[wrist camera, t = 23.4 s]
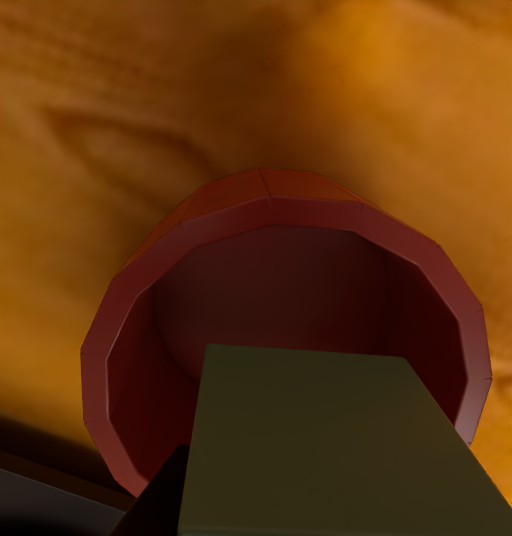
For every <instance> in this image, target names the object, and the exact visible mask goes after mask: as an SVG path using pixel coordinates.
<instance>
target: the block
mask: <svg viewBox="0 0 512 536" xmlns="http://www.w3.org/2000/svg"><path fill="white" fill-rule="evenodd" d="M177 536H512V508H511V506H510V505H509V504H508V502H507V501H506V499H505V498H504V497H503V495H502V494H501V492H500V491H499V490H498V488H497V487H496V485H495V484H494V483H493V481H492V480H491V478H490V477H489V475H488V474H487V473H486V471H485V470H484V468H483V467H482V466H481V464H480V463H479V461H478V460H477V459H476V457H475V456H474V454H473V453H472V452H471V450H470V449H469V447H468V446H467V445H466V443H465V442H464V440H463V439H462V437H461V436H460V435H459V433H458V432H457V430H456V429H455V428H454V426H453V425H452V423H451V422H450V421H449V419H448V418H447V416H446V415H445V414H444V412H443V411H442V409H441V408H440V407H439V405H438V404H437V402H436V401H435V399H434V398H433V397H432V395H431V394H430V392H429V391H428V390H427V388H426V387H425V385H424V384H423V383H422V381H421V380H420V378H419V377H418V376H417V374H416V373H415V371H414V370H413V369H412V367H411V366H410V364H409V363H408V362H407V360H406V359H405V358H403V357H394V356H380V355H366V354H352V353H338V352H324V351H310V350H296V349H282V348H268V347H254V346H240V345H226V344H212V343H210V344H207V346H206V348H205V354H204V360H203V367H202V373H201V380H200V386H199V393H198V399H197V405H196V412H195V418H194V425H193V431H192V438H191V444H190V451H189V457H188V463H187V470H186V476H185V483H184V489H183V496H182V502H181V508H180V515H179V521H178V528H177Z"/></svg>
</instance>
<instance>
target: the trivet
mask: <svg viewBox="0 0 512 536" xmlns="http://www.w3.org/2000/svg"><path fill="white" fill-rule="evenodd" d="M136 499H137V498H134V497H131V496H129V495H126V494H123V493H120V492H117V491H114V490H112V489H109V488H106V487H103V486H100V485H98V484H95V483H92V482H89V481H86V480H83V479H81V478H78V477H75V476H72V475H69V474H66V473H64V472H61V471H58V470H55V469H52V468H49V467H47V466H44V465H41V464H38V463H35V462H33V461H30V460H27V459H24V458H21V457H18V456H16V455H13V454H10V453H7V452H4V451H1V450H0V536H108V535H109V534H110V532H111V531H112V530H113V529H114V527H115V526H116V525H117V523H118V522H119V521H120V520H121V518H122V517H123V516H124V514H125V513H126V512H127V510H128V509H129V508H130V507H131V505H132V504H133V503H134V501H135V500H136Z"/></svg>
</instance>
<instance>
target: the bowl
mask: <svg viewBox="0 0 512 536" xmlns="http://www.w3.org/2000/svg"><path fill="white" fill-rule="evenodd" d="M210 343H212V344H226V345H240V346H254V347H268V348H282V349H296V350H310V351H324V352H338V353H352V354H366V355H380V356H394V357H403V358H405V359H406V360H407V362H408V363H409V364H410V366H411V367H412V369H413V370H414V371H415V373H416V374H417V376H418V377H419V378H420V380H421V381H422V383H423V384H424V385H425V387H426V388H427V390H428V391H429V392H430V394H431V395H432V397H433V398H434V399H435V401H436V402H437V404H438V405H439V407H440V408H441V409H442V411H443V412H444V414H445V415H446V416H447V418H448V419H449V421H450V422H451V423H452V425H453V426H454V428H455V429H456V430H457V432H458V433H459V435H460V436H461V437H462V439H463V440H464V442H465V443H466V445H467V446H468V447H469V446H470V445H471V442H472V441H473V438H474V435H475V432H476V429H477V426H478V423H479V420H480V416H481V413H482V410H483V407H484V404H485V401H486V398H487V395H488V392H489V388H490V385H491V382H492V369H491V362H490V355H489V348H488V340H487V333H486V326H485V318H484V311H483V308H482V304H481V303H480V301H479V300H478V299H477V297H476V296H475V294H474V293H473V292H472V290H471V289H470V287H469V286H468V284H467V283H466V282H465V280H464V279H463V277H462V276H461V274H460V273H459V272H458V270H457V269H456V267H455V266H454V264H453V263H452V262H451V260H450V259H449V257H448V256H447V255H446V253H445V252H444V250H443V249H442V247H441V246H440V245H438V244H437V243H436V242H435V241H434V240H432V239H430V238H429V237H427V236H425V235H424V234H422V233H420V232H419V231H417V230H415V229H414V228H412V227H410V226H409V225H407V224H405V223H403V222H402V221H400V220H398V219H397V218H395V217H393V216H392V215H390V214H388V213H387V212H385V211H383V210H382V209H380V208H378V207H377V206H375V205H373V204H372V203H370V202H368V201H367V200H365V199H363V198H361V197H359V196H358V195H356V194H354V193H352V192H350V191H349V190H347V189H345V188H343V187H341V186H340V185H338V184H336V183H334V182H332V181H331V180H329V179H327V178H325V177H323V176H321V175H320V174H316V173H311V172H301V171H295V170H289V169H268V168H259V169H258V168H255V169H252V170H249V171H245V172H241V173H237V174H233V175H229V176H227V177H224V178H222V179H219V180H217V181H214V182H211V183H208V184H205V185H203V186H201V187H199V188H198V189H197V190H196V191H195V192H194V193H192V194H191V195H190V196H189V197H188V198H187V199H185V200H184V201H183V202H181V203H180V204H179V205H178V206H177V207H176V208H175V209H174V210H173V211H172V212H171V213H169V214H168V215H167V216H166V217H165V218H164V219H163V220H161V221H160V222H159V223H158V225H157V226H156V227H155V228H154V229H153V231H152V232H151V233H150V234H149V235H148V237H147V238H146V239H145V240H144V241H143V243H142V244H141V245H140V246H139V248H138V249H137V250H136V251H135V252H134V254H133V255H132V256H131V257H130V258H129V260H128V261H127V262H126V263H125V264H124V266H123V267H122V268H121V269H120V270H119V272H118V273H117V274H116V275H115V276H114V278H113V279H112V280H111V282H110V284H109V286H108V289H107V291H106V293H105V295H104V298H103V300H102V302H101V304H100V307H99V309H98V311H97V313H96V316H95V318H94V320H93V322H92V324H91V327H90V329H89V331H88V333H87V336H86V338H85V340H84V342H83V345H82V347H81V353H80V357H81V379H82V400H83V420H84V425H85V426H86V428H87V430H88V432H89V434H90V436H91V437H92V439H93V441H94V443H95V445H96V446H97V448H98V450H99V452H100V454H101V456H102V457H103V459H104V461H105V463H106V465H107V467H108V468H109V470H110V472H111V474H112V476H113V478H114V479H115V480H116V481H117V482H118V483H119V484H120V485H121V486H122V487H124V488H125V489H126V490H127V491H129V492H130V493H131V494H132V495H134V496H135V497H136V498H138V496H139V495H140V494H141V492H142V491H143V490H144V489H145V487H146V486H147V485H148V483H149V482H150V481H151V479H152V478H153V477H154V476H155V474H156V473H157V472H158V470H159V469H160V468H161V467H162V465H163V464H164V463H165V461H166V460H167V459H168V458H169V456H170V455H171V454H172V452H173V451H174V450H175V448H176V447H177V446H178V445H180V444H191V438H192V431H193V425H194V418H195V412H196V405H197V399H198V393H199V386H200V380H201V373H202V367H203V360H204V354H205V348H206V346H207V344H210Z"/></svg>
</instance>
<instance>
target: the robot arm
mask: <svg viewBox="0 0 512 536" xmlns="http://www.w3.org/2000/svg"><path fill="white" fill-rule="evenodd" d="M189 451H190V444H180V445H178V446H177V447H176V448H175V450H174V451H173V452H172V454H171V455H170V456H169V458H168V459H167V460H166V461H165V463H164V464H163V465H162V467H161V468H160V469H159V470H158V472H157V473H156V474H155V476H154V477H153V478H152V479H151V481H150V482H149V483H148V485H147V486H146V487H145V489H144V490H143V491H142V492H141V494H140V495H139V496H138V498H137V499H136V500H135V501H134V503H133V504H132V505H131V507H130V508H129V509H128V510H127V512H126V513H125V514H124V516H123V517H122V518H121V520H120V521H119V522H118V523H117V525H116V526H115V527H114V529H113V530H112V531H111V532H110V534H109V535H108V536H177V528H178V521H179V515H180V508H181V502H182V496H183V489H184V483H185V476H186V470H187V463H188V457H189Z"/></svg>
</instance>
